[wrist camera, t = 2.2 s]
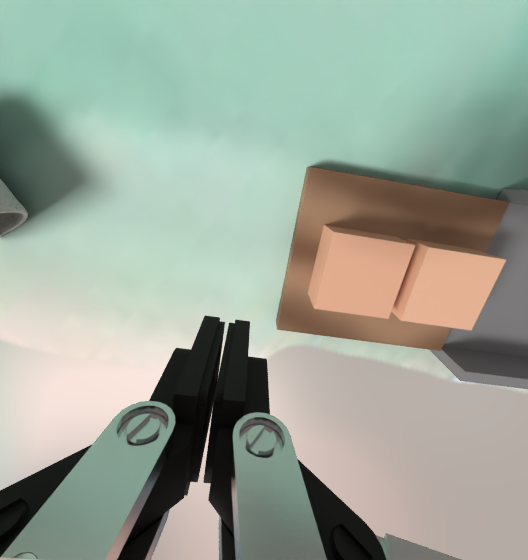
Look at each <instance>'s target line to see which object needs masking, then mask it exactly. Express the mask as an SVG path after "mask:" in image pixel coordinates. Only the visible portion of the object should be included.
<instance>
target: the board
mask: <svg viewBox="0 0 528 560" xmlns="http://www.w3.org/2000/svg"><path fill="white" fill-rule="evenodd" d="M508 205H509V202H507V201H501V200H495V199H490V198H484V197H478V196H473V195H467V194H461V193H456V192H450V191H444V190H439V189H433V188H427V187H422V186H416V185H411V184H405V183H399V182H394V181H388V180H382V179H377V178H371V177H365V176H360V175H354V174H348V173H343V172H337V171H332V170H326V169H320V168H315V167H307V169H306V174H305V179H304V184H303V189H302V194H301V199H300V204H299V209H298V214H297V219H296V224H295V229H294V234H293V239H292V244H291V249H290V254H289V259H288V264H287V269H286V274H285V279H284V284H283V289H282V294H281V299H280V304H279V309H278V314H277V319H276V324H277V330H285V331H292V332H300V333H308V334H315V335H323V336H331V337H338V338H346V339H353V340H361V341H369V342H376V343H384V344H392V345H399V346H407V347H414V348H422V349H430V350H437V351H441V349H442V347H443V345H444V343H445V340H446V338H447V336H448V334H449V332H450V330H451V328H450V327H443V326H436V325H429V324H421V323H414V322H407V321H400V320H399V319H398V317H397V316H396V315H395V314H394V313H393V312H392V311H391V314H390V316H389V319H385V318H378V317H371V316H363V315H356V314H349V313H342V312H334V311H327V310H320V309H314V307H313V305H312V302H311V300H310V297H309V295H308V290H309V285H310V281H311V277H312V273H313V269H314V264H315V260H316V256H317V252H318V248H319V243H320V239H321V235H322V231H323V226H324V225H328V226H335V227H341V228H347V229H353V230H359V231H365V232H372V233H378V234H384V235H390V236H396V237H398V238H400V239H403V240H405V241H406V240H407V238H409V239H415V240H421V241H427V242H433V243H440V244H446V245H452V246H458V247H464V248H471V249H476V250H479V251H482V252H485V253H486V252H487V250H488V248H489V246H490V243H491V241H492V239H493V237H494V235H495V233H496V230H497V228H498V226H499V224H500V222H501V220H502V217H503V215H504V213H505V211H506V209H507V207H508Z"/></svg>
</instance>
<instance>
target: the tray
mask: <svg viewBox="0 0 528 560" xmlns="http://www.w3.org/2000/svg"><path fill="white" fill-rule="evenodd" d="M497 200H501V201H507V202H509V205H508V207H507V209H506V211H505V213H504V215H503V217H502V220H501V222H500V224H499V226H498V228H497V230H496V233H495V235H494V237H493V239H492V241H491V243H490V246H489V248H488V250H487V252H486V253H488V254H491V255H494V256H497V257H500V258H503V259H506V262H505V264H504V266H503V268H502V270H501V272H500V274H499V276H498V278H497V280H496V282H495V284H494V286H493V288H492V290H491V292H490V294H489V296H488V298H487V300H486V302H485V304H484V306H483V308H482V310H481V312H480V314H479V316H478V318H477V320H476V322H475V324H474V326H473V328H472V330H465V329H457V328H451V330H450V332H449V334H448V336H447V338H446V340H445V343H444V345H443V347H442V349H441V351H437V350H430V351H431V352H432V353H433V354H434V355H435V356H436V357H437V358H438V359H439V360H440V361H441V362H442V363H443V364H444V365H445V366H446V367H447V368H448V369H449V370H450V371H451V372H452V373H453V374H454V375H455V376H456V377H457V378H458V379H459V380H460V381H467V382H475V383H483V384H491V385H499V386H507V387H515V388H523V389H528V190H521V189H502V190H501V192H500V194H499V196H498V199H497Z"/></svg>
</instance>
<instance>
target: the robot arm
mask: <svg viewBox="0 0 528 560" xmlns="http://www.w3.org/2000/svg"><path fill="white" fill-rule="evenodd" d="M224 325H225V322H220V318H219V317H211V316H205V317H204V319H203V321H202V324H201V327H200V329H199V332H198V334H197V337H196V339H195V342H194V344H193V347H192V349H191V350H189V349H181V348H176V349H175V350H174V352H173V354H172V356H171V358H170V360H169V362H168V364H167V366H166V368H165V370H164V372H163V374H162V376H161V378H160V380H159V382H158V384H157V386H156V388H155V390H154V392H153V394H152V396H151V398H150V400H149V401H145V402H139V403H136V404H133V405H130V406H129V407H127V408H125V409H124V410H122V411H121V412H120V413H119V414H118V415H117V416H116V417H115V418H114V419H113V420H112V422H111V423H110V424H109V425H108V426H107V427H106V429H105V430H104V431H103V432H102V434H101V435H100V436H99V437H98V439H97V440H96V441H95V442H94V443H93V444H92V445H90V446H88V447H86V448H84V449H82V450H80V451H78V452H76V453H74V454H72V455H70V456H68V457H66V458H64V459H62V460H60V461H58V462H57V463H54V464H52V465H50V466H48V467H46V468H44V469H42V470H40V471H39V472H37V473H35V474H33V475H31V476H28V477H27V478H24V479H22V480H21V481H19V482H17V483H15V484H13V485H11V486H9V487H7V488H5V489H3V490H1V491H0V560H151V558H152V555H153V553H154V551H155V548H156V546H157V543H158V541H159V538H160V536H161V533H162V531H163V528H164V526H165V523H166V521H167V518H168V514H169V509H170V508H172V507H173V506H174V505H175V504H177V503H178V502H179V501H180V500H182V499H183V498H184V495H187V494H188V490H189V485H190V482H197V481H198V477H199V472H200V468H201V462H202V457H203V452H204V448H205V442H206V438H207V433H208V427H209V422H210V417H211V413H212V419H211V427H210V435H209V443H208V451H207V459H206V467H205V475H204V483H211V486H210V494H209V501H210V503H211V504H212V506H213V507H214V508H215V510H216V511H217V513H218V514H219V515H220V517H219V560H461V559H458V558H455V557H452V556H449V555H446V554H444V553H441V552H438V551H435V550H432V549H429V548H427V547H424V546H421V545H418V544H415V543H412V542H409V541H407V540H404V539H401V538H398V537H395V536H392V535H389V534H387V533H386V534H385V536H384V538H382V537H379V536H376V535H375V534H374V532H373V531H372V530H371V529H370V528H369V527H368V526H367V524H366V523H365V522H364V521H363V520H362V519H361V518H360V517H359V516H358V515H356V514H355V513H354V512H353V511H352V510H351V509H350V508H349V507H348V506H347V505H346V504H345V503H344V502H342V500H341V499H339V498H338V497H337V496H336V495H335V494H334V493H333V492H332V491H331V490H330V489H329V488H327V486H326V485H325V484H323V483H322V482H321V481H320V480H319V479H318V478H317V477H316V476H315V475H314V474H313V473H312V472H311V471H310V470H309V469H307V468H306V467H305V466H304V465H303V464H302V463H301V462H300V461H299V460H298V459H297V456H296V453H295V450H294V447H293V443H292V440H291V436H290V434H289V431H288V429H287V427H286V426H285V425H284V424H283V423H282V422H281V421H280V420H279V419H277V418H276V417H274V416H272V415H270V409H269V390H268V372H267V360H266V359H263V358H255V357H248V347H249V328H250V322H249V321H242V320H235V323H229V327H228V332H227V337H226V342H225V346H224V351H223V356H222V361H221V366H220V371H219V365H220V357H221V349H222V341H223V333H224ZM218 373H219V376H218ZM212 408H213V410H212Z"/></svg>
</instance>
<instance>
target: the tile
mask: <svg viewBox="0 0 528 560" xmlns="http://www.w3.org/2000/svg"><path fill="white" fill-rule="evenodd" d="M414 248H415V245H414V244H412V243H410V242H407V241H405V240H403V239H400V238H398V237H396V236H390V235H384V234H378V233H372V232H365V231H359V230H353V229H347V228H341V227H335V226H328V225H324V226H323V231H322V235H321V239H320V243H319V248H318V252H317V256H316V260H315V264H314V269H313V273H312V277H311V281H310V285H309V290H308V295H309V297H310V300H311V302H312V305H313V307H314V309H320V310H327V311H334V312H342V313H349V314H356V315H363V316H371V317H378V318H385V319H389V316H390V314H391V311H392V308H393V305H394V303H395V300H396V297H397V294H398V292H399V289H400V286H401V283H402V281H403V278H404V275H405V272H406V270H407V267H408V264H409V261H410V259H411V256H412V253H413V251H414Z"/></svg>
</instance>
